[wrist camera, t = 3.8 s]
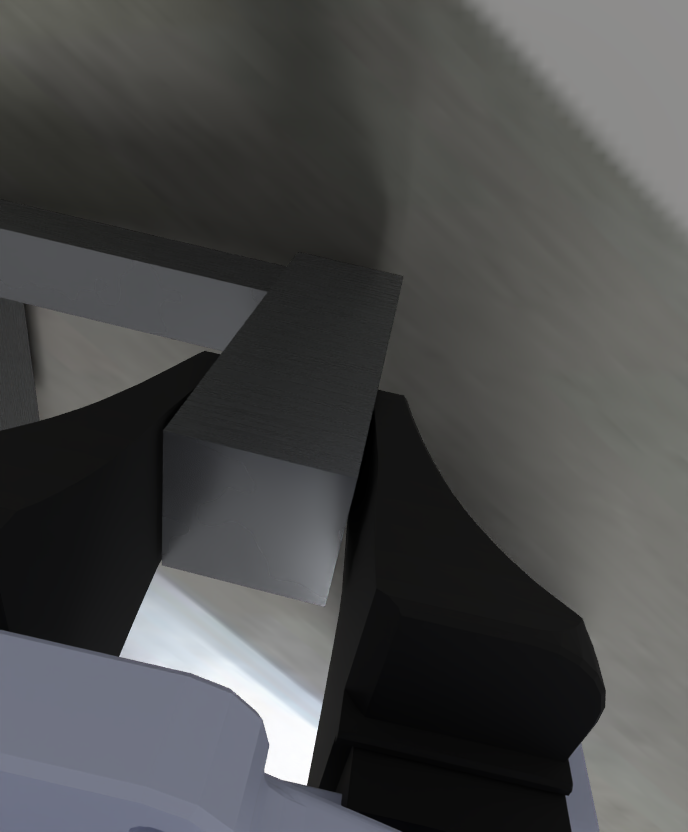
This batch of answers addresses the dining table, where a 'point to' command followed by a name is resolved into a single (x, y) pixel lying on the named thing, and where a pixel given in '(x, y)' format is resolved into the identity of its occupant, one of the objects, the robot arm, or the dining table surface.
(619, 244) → the dining table surface
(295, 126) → the dining table surface
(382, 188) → the dining table surface
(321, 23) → the dining table surface
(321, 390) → the grey angled block
